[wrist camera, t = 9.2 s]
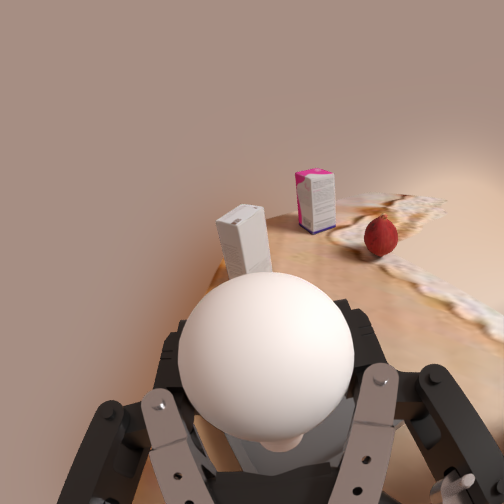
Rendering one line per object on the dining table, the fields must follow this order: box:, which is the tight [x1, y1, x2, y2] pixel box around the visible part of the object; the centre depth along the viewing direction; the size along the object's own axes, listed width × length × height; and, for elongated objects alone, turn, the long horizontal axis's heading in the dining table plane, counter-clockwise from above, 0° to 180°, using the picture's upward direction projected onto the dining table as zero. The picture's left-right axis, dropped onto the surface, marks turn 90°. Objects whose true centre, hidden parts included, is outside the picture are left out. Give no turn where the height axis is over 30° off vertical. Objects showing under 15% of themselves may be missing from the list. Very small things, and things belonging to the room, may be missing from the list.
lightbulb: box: [178, 272, 354, 452], centre depth 11 cm, size 6×6×11 cm
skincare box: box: [216, 204, 272, 280], centre depth 43 cm, size 6×4×12 cm
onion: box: [364, 213, 398, 257], centre depth 44 cm, size 6×6×8 cm
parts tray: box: [224, 395, 405, 476], centre depth 26 cm, size 16×16×2 cm
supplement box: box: [295, 168, 336, 235], centre depth 56 cm, size 6×6×11 cm
